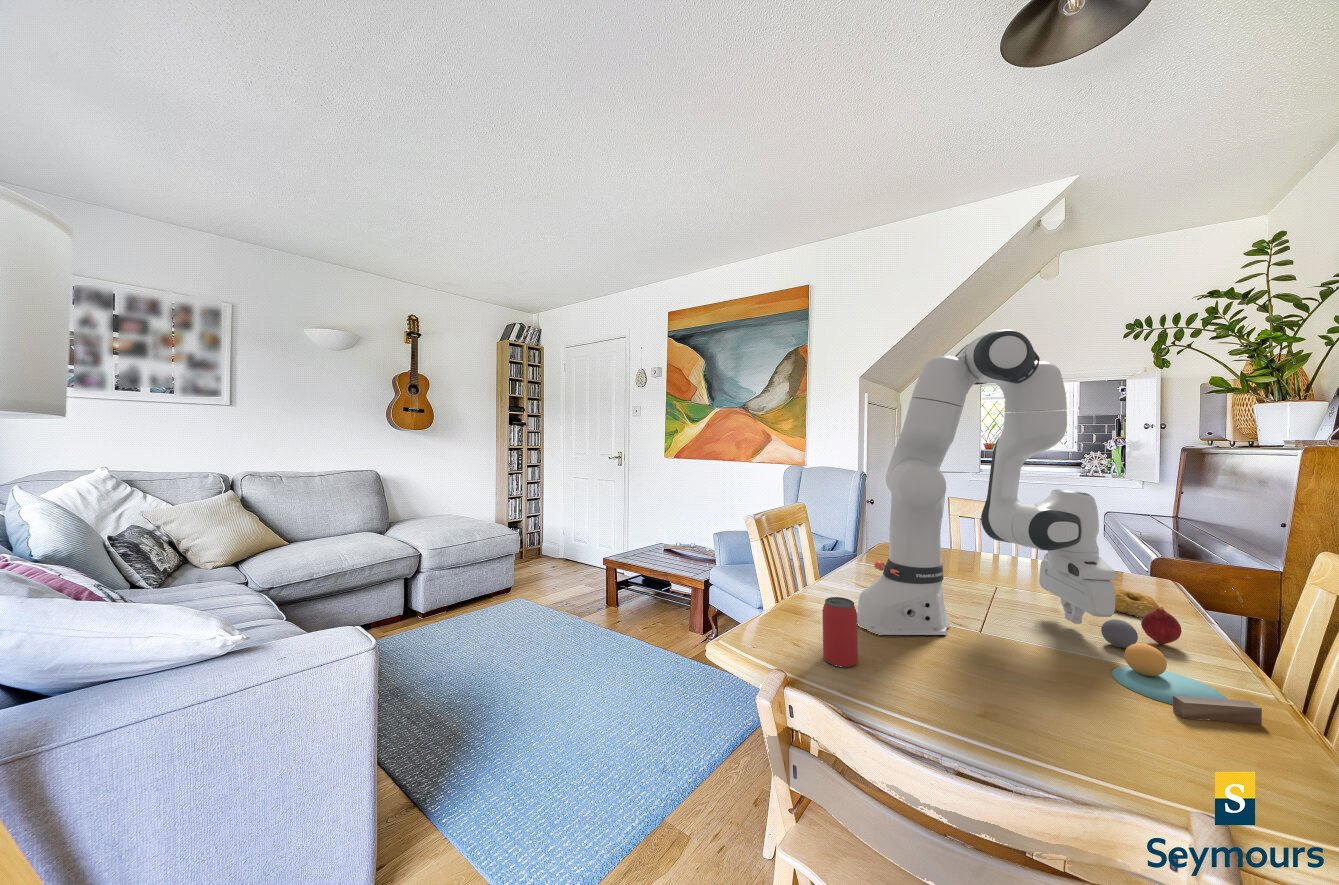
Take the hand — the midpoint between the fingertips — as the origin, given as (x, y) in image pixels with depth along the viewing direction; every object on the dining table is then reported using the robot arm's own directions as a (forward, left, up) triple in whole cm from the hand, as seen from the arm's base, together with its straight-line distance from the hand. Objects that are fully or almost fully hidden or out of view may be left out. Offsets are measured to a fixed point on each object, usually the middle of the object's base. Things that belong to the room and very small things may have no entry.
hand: (1073, 621), depth 107 cm
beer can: (-59, -3, -2) cm, 59 cm away
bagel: (+24, +6, -2) cm, 25 cm away
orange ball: (-7, -19, +1) cm, 21 cm away
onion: (+9, -10, -2) cm, 14 cm away
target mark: (-9, -23, -2) cm, 25 cm away
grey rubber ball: (0, -9, +1) cm, 9 cm away
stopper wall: (-12, -32, -2) cm, 34 cm away
